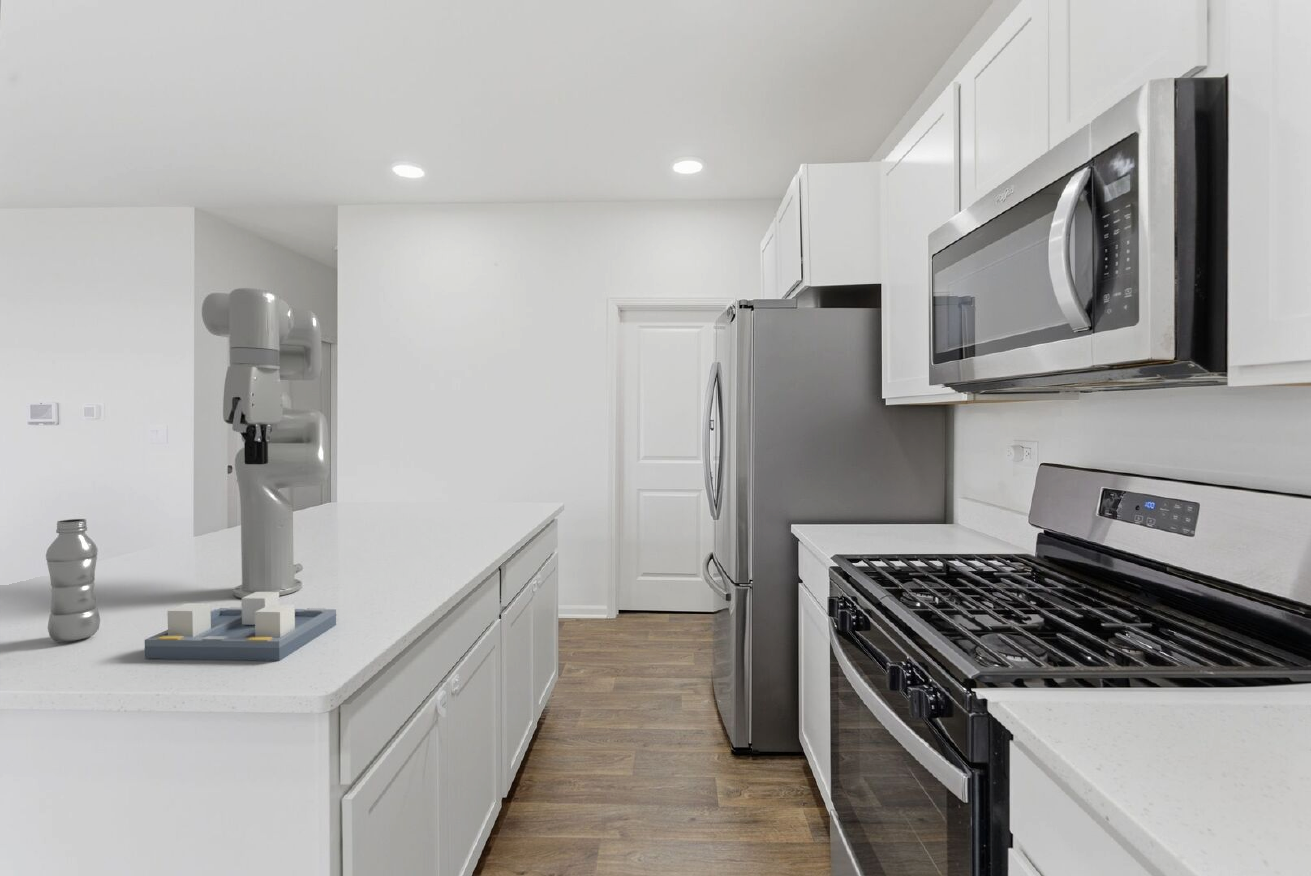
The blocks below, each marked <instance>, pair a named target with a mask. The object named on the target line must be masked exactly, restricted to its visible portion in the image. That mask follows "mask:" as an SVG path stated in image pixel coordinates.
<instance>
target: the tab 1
mask: <svg viewBox="0 0 1311 876" xmlns="http://www.w3.org/2000/svg"><path fill="white" fill-rule="evenodd" d="M210 611H211V603H195V602H194V603H193V602H191V603H184V604H181V605H179V606H176V607H174V608H171V609H169V610H167V630H168V636H184V637H194V636H196V635H198V634H201V633H203V632H205V631H207V630H209V629H211V612H210Z"/></svg>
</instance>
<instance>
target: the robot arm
mask: <svg viewBox="0 0 1311 876" xmlns="http://www.w3.org/2000/svg"><path fill="white" fill-rule="evenodd" d="M201 319H202V322H203V325H204V326H205V328H206V329H207V331H208V332H209V333H210V334H211V335H214V336H218V337H222V338H223V337H225V338H228V339H229V342H228V343H229V351H228V352H229V353H228V354H229V355H228V356H229V366H227V370H226V374H225V379H224V387H223V398H222V399H223V400H222V401H223V403H222V405H223V406H222V416H223V417H222V418H223V421H224V422H225V423H226V424H229V425H232V431H234V432H237V433H238V434H240V435H241V440H242V443H244V447H241V449H240V450H238V452H237V453H236V454H235V458H234V468H235V469H234V470H235V474H236V475H235V476H236V479H237V486H238V492H239V501H240V502H239V503H240V541H241V542H240V543H241V544H240V545H241V546H240V549H241V550H240V551H241V552H240V553H241V554H240V555H241V584H239V585H238V586H235V587H234V588H233V590H232V593H233V596H234V597H236V598H239V599H242V598H243V597H246V596H248V595H250V594H253V593H255V592H279V597H281V596H284V595H289V594H292V593H294V592H295V593H296V592H297V591H299V590H300V589H301V588H303V582H302V580H300V579H296V578H295V575H296V574H298V573H300V572H302V571H303V569H304V566H303V565H302V564H301V563H295V564H294V511H293V510H294V509H293V506H292V504H291V502H290V500H289V499H288V498H286V496H284V495H283V494H282V493H281V492H280V490H279V489H286V488H287V489H288V488H307V487H308V488H309V487H318V486H321V485H323V484H325V482H326V481H328V478H329V474H330V443H329V441H330V440H329V428H328V427H329V425H328V422H327V418H326V417H325V415H324V414H323V412H321V411H319V410H316V409H310V408H309V409H308V408H307V409H306V408H304V409H303V408H301V409H300V408H292V398H290V395H288V394H287V392H286V391H285V390H284V389H282V383H281V382H282V381H303V382H304V381H305V382H306V381H308V382H309V381H313V380H316V379H318V378H319V377H320V375H321V373H322V369H323V357H322V355H323V352H322V349H323V348H322V345H323V344H322V329H321V324H320V321H319V318H318V316H317V314H315V313H314V312H313V311H312V310H310V309H304V308H303V309H302V308H291V306H289V304H288V303H287V302H286V301H285V300H284V299H282V298H280V297H278V296H277V295H276V294H275V293H273V292H272V291H269V290H264V289H260V288H259V289H258V288H250V287H249V288H248V287H240V288H235V289H233V290H231V291H230V293H225V292H212V293H210V294H208V295H207V296H205V298H204V300H203V301H202V305H201Z"/></svg>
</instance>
